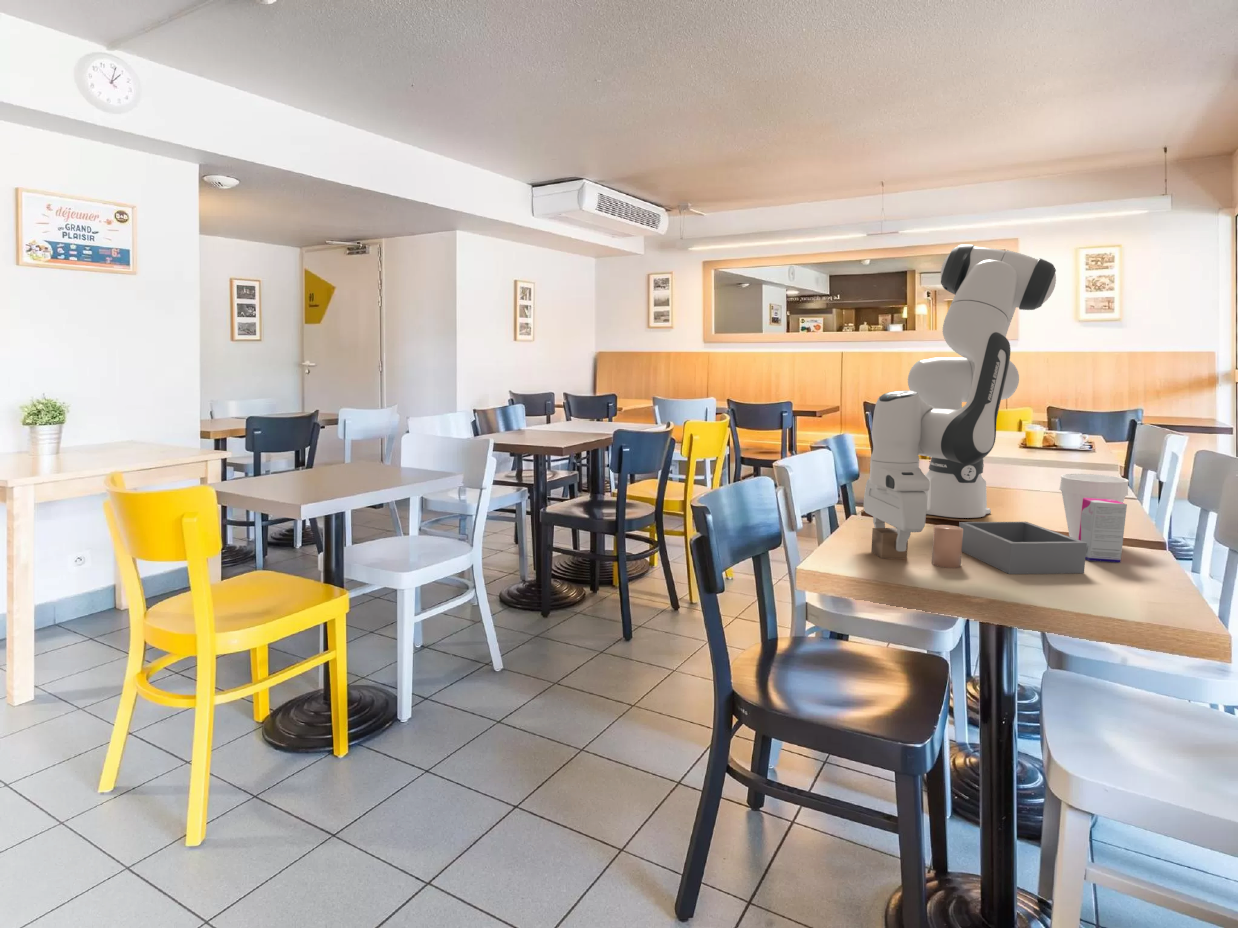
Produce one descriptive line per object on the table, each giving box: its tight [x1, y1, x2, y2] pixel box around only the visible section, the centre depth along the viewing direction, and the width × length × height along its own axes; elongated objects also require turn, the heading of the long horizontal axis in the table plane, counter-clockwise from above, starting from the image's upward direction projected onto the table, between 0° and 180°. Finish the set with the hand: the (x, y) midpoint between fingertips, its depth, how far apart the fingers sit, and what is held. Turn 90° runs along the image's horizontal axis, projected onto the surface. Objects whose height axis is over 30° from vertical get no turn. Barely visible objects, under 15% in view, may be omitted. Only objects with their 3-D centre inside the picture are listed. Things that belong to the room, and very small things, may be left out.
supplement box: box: [1078, 498, 1128, 563], centre depth 143 cm, size 6×6×12 cm
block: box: [870, 527, 909, 560], centre depth 145 cm, size 5×5×5 cm
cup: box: [1059, 473, 1130, 540], centre depth 157 cm, size 12×12×14 cm
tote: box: [958, 521, 1087, 575], centre depth 141 cm, size 18×14×6 cm
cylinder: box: [931, 524, 963, 569], centre depth 138 cm, size 5×5×7 cm
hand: (890, 545), depth 145 cm, fingers open, 7 cm apart
